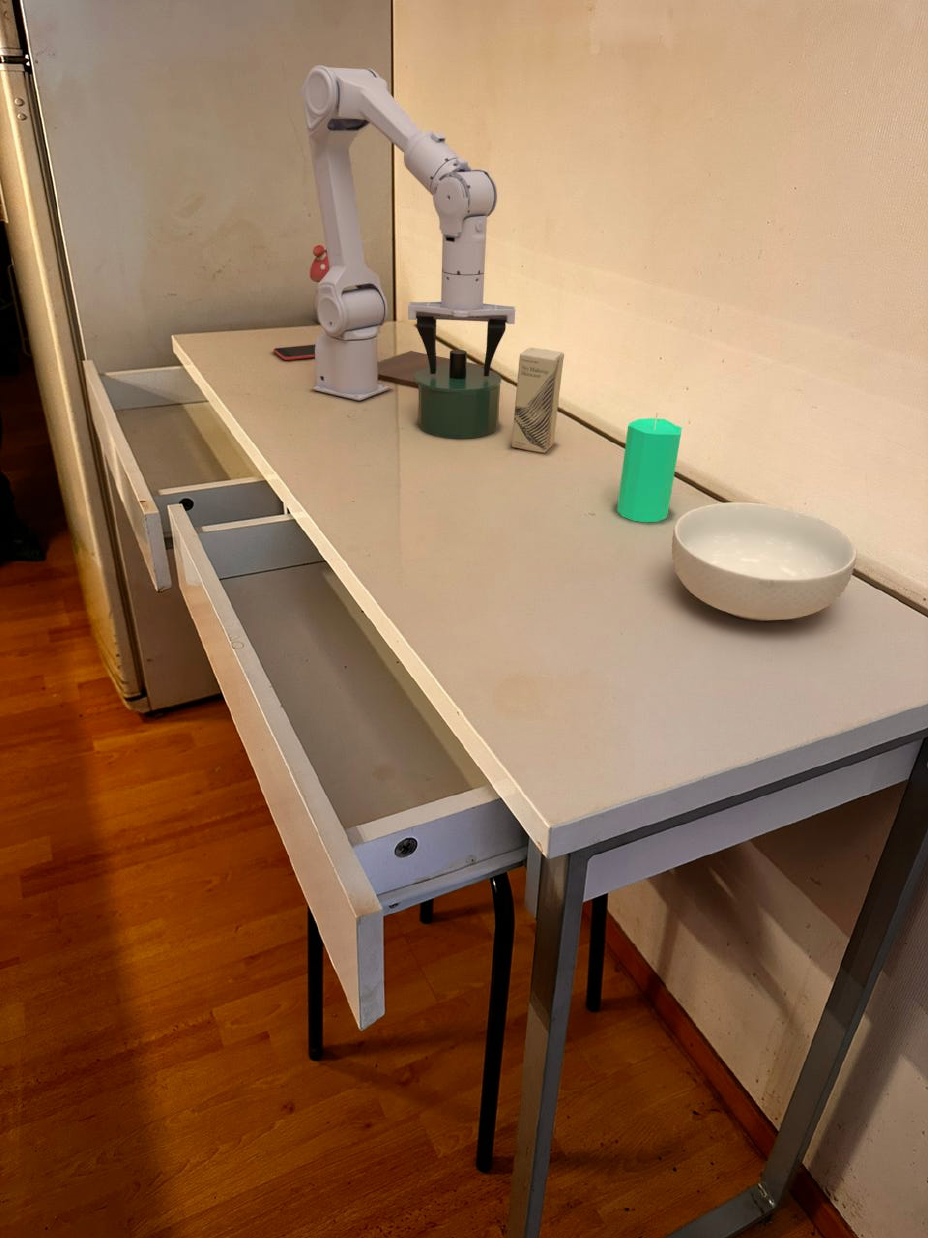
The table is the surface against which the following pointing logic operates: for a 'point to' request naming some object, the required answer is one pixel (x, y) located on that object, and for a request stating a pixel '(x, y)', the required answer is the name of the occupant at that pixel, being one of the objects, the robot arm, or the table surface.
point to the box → (537, 399)
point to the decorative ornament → (319, 272)
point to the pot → (458, 413)
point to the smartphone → (296, 352)
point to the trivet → (408, 367)
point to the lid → (457, 376)
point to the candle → (648, 469)
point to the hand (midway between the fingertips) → (459, 373)
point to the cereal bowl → (761, 559)
